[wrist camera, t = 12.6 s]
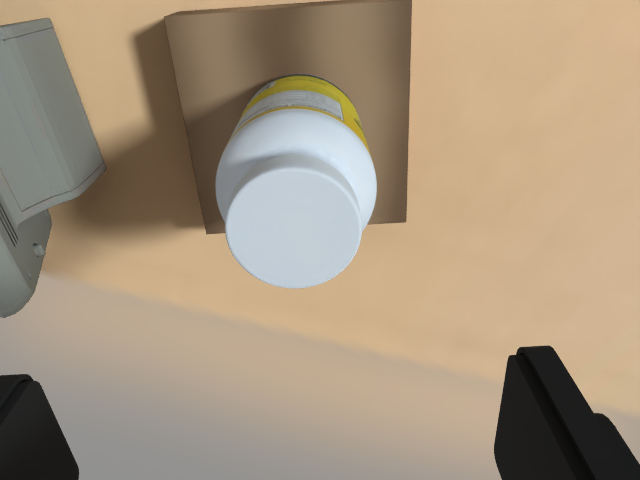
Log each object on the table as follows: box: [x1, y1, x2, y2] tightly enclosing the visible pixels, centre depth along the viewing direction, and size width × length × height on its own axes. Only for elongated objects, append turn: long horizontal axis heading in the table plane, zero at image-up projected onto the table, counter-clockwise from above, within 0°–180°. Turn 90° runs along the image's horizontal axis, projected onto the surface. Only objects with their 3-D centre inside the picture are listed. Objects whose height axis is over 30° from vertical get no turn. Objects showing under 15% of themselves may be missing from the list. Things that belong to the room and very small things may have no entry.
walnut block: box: [164, 0, 412, 234], centre depth 28 cm, size 12×12×3 cm
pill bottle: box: [215, 74, 377, 288], centre depth 22 cm, size 6×6×12 cm
